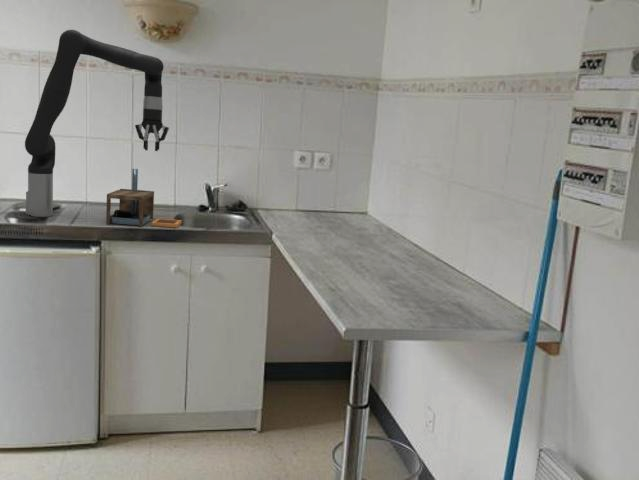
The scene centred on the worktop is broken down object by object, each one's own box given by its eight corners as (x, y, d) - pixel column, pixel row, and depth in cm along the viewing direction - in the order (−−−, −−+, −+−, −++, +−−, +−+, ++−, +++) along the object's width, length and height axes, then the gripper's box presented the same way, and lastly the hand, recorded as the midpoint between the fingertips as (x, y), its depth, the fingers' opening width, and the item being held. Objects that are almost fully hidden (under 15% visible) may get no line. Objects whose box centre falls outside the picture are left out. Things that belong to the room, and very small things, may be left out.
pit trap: (151, 226, 267) (151, 222, 267) (157, 221, 278) (157, 218, 278) (176, 228, 267) (176, 224, 267) (181, 223, 278) (181, 220, 278)
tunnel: (106, 224, 264) (106, 194, 261) (119, 216, 283) (120, 188, 281) (141, 227, 264) (142, 196, 262) (153, 219, 283) (154, 191, 281)
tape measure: (132, 222, 270) (133, 213, 270) (115, 220, 267) (116, 211, 267) (128, 219, 276) (129, 210, 276) (111, 217, 273) (113, 208, 273)
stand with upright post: (106, 222, 265) (107, 170, 262) (117, 216, 281) (118, 167, 277) (142, 225, 266) (143, 173, 262) (151, 219, 282) (153, 170, 278)
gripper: (132, 106, 268) (131, 149, 271) (168, 109, 269) (166, 152, 272) (137, 106, 275) (136, 148, 279) (172, 109, 276) (170, 151, 279)
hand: (151, 150), depth 275 cm, fingers open, 3 cm apart
